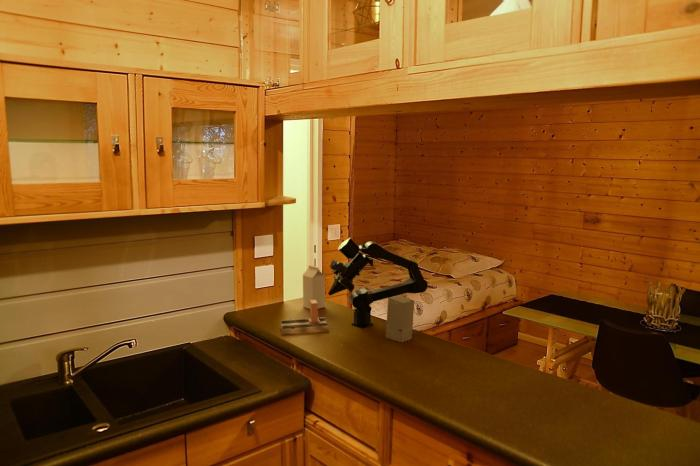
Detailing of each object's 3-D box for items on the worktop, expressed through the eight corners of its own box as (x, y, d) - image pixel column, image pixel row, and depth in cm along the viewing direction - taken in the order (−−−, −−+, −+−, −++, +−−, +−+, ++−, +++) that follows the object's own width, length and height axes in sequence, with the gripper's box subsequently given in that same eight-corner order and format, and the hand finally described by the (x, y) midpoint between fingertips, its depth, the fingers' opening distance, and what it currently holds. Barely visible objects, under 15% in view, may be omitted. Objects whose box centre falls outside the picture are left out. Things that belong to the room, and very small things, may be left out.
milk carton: (312, 310, 240) (312, 269, 237) (303, 307, 245) (302, 266, 242) (325, 307, 245) (324, 266, 242) (315, 304, 250) (314, 264, 247)
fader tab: (318, 320, 219) (317, 299, 218) (319, 324, 215) (319, 303, 213) (308, 321, 219) (308, 300, 217) (309, 325, 214) (309, 303, 212)
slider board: (324, 323, 223) (324, 316, 222) (328, 331, 213) (328, 324, 213) (280, 326, 219) (280, 319, 219) (282, 334, 210) (282, 327, 209)
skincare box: (385, 337, 206) (385, 297, 203) (397, 333, 211) (398, 294, 208) (401, 343, 200) (402, 302, 197) (414, 339, 204) (415, 298, 202)
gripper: (337, 248, 223) (311, 276, 223) (346, 257, 205) (317, 287, 205) (356, 266, 226) (330, 293, 226) (366, 276, 208) (338, 306, 208)
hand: (328, 294), depth 216 cm, fingers closed
